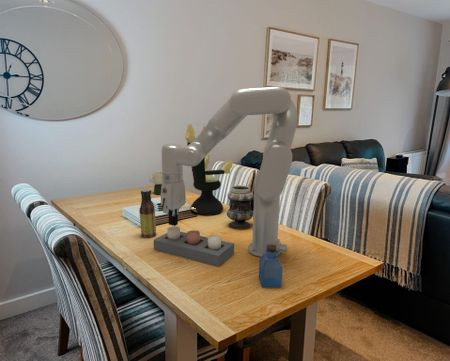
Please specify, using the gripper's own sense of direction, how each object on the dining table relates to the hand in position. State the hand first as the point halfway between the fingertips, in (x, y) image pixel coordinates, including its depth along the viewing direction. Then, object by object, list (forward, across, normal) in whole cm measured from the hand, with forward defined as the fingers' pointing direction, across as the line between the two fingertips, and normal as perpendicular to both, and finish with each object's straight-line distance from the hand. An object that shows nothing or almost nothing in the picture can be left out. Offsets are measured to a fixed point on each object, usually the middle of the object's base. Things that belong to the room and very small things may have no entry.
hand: (173, 224), depth 131 cm
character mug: (+9, +59, +54) cm, 81 cm away
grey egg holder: (+9, 0, -9) cm, 13 cm away
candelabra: (+9, +43, +12) cm, 46 cm away
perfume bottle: (+9, -7, -42) cm, 44 cm away
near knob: (+6, 0, -18) cm, 19 cm away
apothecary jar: (+9, +34, -12) cm, 37 cm away
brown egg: (+6, 0, -9) cm, 11 cm away
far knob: (+6, 0, 0) cm, 6 cm away
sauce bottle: (+9, +4, +16) cm, 19 cm away
